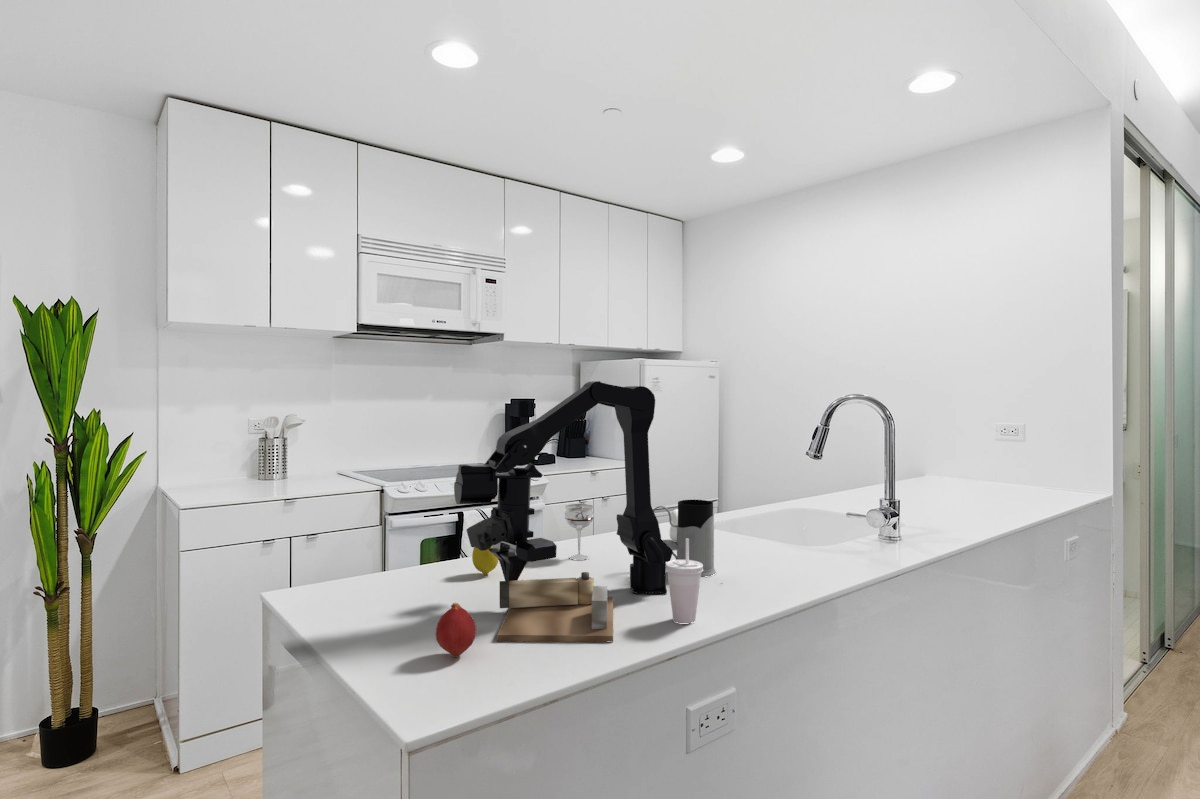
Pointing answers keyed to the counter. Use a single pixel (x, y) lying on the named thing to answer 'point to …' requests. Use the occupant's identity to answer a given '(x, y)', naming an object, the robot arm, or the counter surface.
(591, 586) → the leg
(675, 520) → the white rounded piece
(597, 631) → the seat
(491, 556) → the lemon
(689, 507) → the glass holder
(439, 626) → the onion
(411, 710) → the counter surface
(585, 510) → the wineglass
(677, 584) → the smoothie
